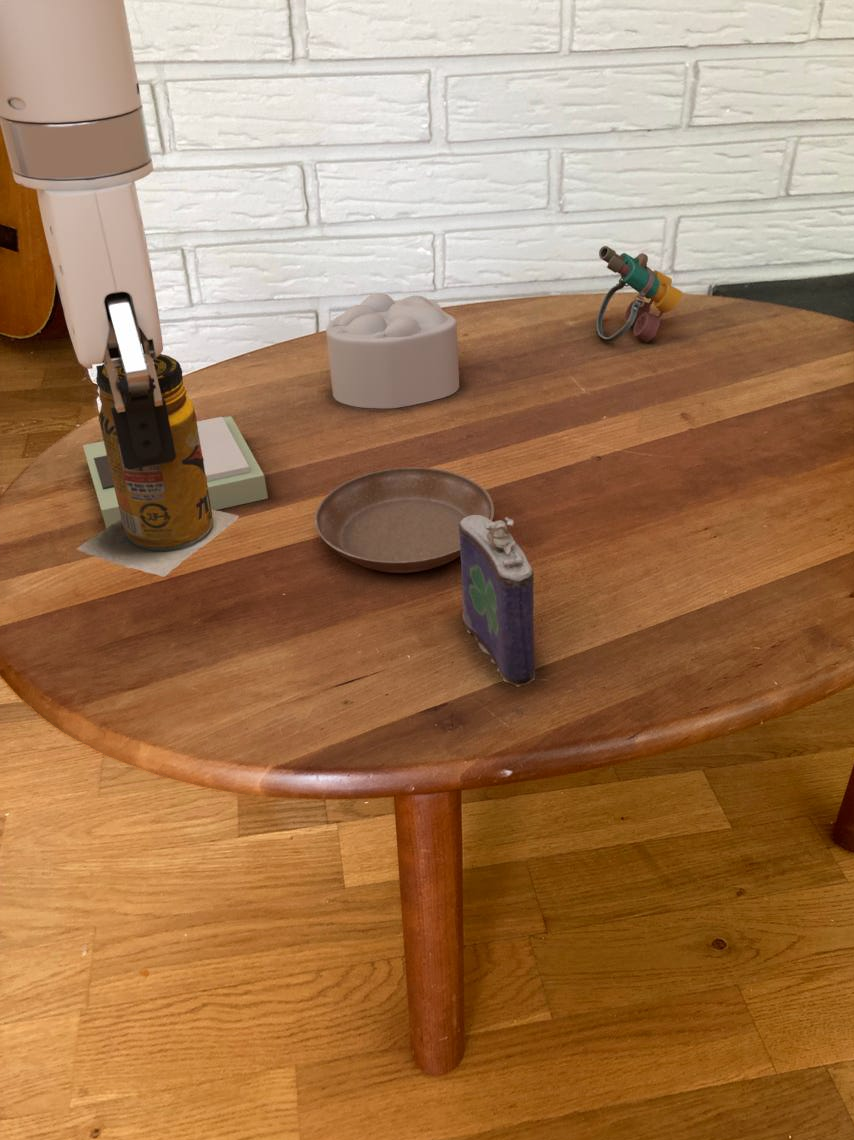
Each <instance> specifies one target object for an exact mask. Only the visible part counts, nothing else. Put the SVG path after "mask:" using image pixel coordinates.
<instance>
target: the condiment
mask: <svg viewBox="0 0 854 1140" xmlns="http://www.w3.org/2000/svg"><path fill="white" fill-rule="evenodd" d="M153 361H154V366H155V370H156V374H157V379H158V383H159V387H160V392H161V396H162V399H164V400H165V402H166V407H167V413H168V418H169V423H170V428H171V433H172V438H173V443H174V449H175V454H176V458H175V459H174V460H173V461H172V462H167V463H162V464H156V465H151V466H146V467H140V468H135V469H127V468H126V467H125V466H124V463H123V460H122V455H121V451H120V446H119V442H118V438H117V433H116V429H115V425H114V420H113V416H112V411H111V408H113V407H115V404H114V400H113V396H112V392H111V388H110V384H109V379H108V375H107V371H106V368H105V366H104V363H102V364H101V365H102V366H101V367H99V369H98V371H97V370H96V377H95V379H96V385H97V387H98V388H99V397H98V398H99V401H100V404H101V405H100V410H99V413H98V422H99V426H100V431H101V436H102V439H103V440H102V441H104V445H105V449H106V453H107V458H108V462H109V467H110V471H111V475H112V480H113V484H114V489H115V493H116V497H117V502H118V506H119V510H120V515H121V520H119V521H117V522H116V523H114V524H111V525H110V526H109V527H108V528H107V529H106V528H105V529H104V530H102V531H100V533H99V534H97V535H96V536H94V537H93V538H91V539H89V540H87V541H85V542H83V544H81V545H80V546H79V547H77V548H76V551H78V552H83V553H85V554H86V555H89V556H92V557H95V558H98V559H102V560H105V561H106V562H109V563H113V564H117V565H121V566H123V567H125V568H126V569H135V570H139V571H141V572H144V573H147V574H152V575H155V576H158V577H159V576H160V577H162V578H165V577H166V576H167V575H169V573H171V572H172V571H173V570H174V569H176V568H178V567H179V566H180V565H181V564H182V563H183V562H184V561H186V560H187V559H188V558H190V557H191V556H192V555H193V554H195V553H196V552H197V551H198V550H200V549H201V548H203V547H205V546H206V545H208V543H210V542H211V541H213V540H214V539H215V538H216V537H217V536H219V535H220V534H221V533H222V532H224V531H225V530H227V528H228V527H230V526H231V525H232V524H233V523H235V522H236V521H237V520H238V519H239V517H240V515H238V514H234V513H229V512H227V511H226V512H224V511H221V510H212V509H211V503H210V497H209V491H208V486H207V478H206V474H205V469H204V459H203V456H202V450H201V445H200V439H199V433H198V426H197V421H198V420H197V414H196V411H195V407H194V404H193V401H192V400H191V399H190V398H189V397H188V395H187V387H186V386H185V383H184V376H183V369H182V365H181V364H180V362H179V361H178V360H176V359H175V358H173V357H171V356H170V355H167V354H163V353H161V354H160V355H159V356H158V357H157V358H154V357H153ZM116 371H117V375H118V379H119V383H120V381H121V380H120V378H124V377H125V376H124V372H123V367H121V368H116Z"/></svg>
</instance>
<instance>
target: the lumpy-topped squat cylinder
mask: <svg viewBox="0 0 854 1140" xmlns="http://www.w3.org/2000/svg"><path fill="white" fill-rule="evenodd" d="M325 335H326V345H327V354H328V363H329V364H328V365H329V372H330V381H331V382H330V383H331V390H332V397H333V398H334V400H335V401H337V402H339V403H341V404H344V405H347V406H350V407H356V408H363V409H398V408H404V407H410V406H416V405H419V404H424V403H425V404H426V403H428V402H429V403H430V402H432V401H435V400H439V399H444V398H446V397H449V396H452V395H453V394H455V393H456V392H458V390H459V389H460V371H459V370H460V369H459V345H458V344H459V343H458V342H459V341H458V323H457V319H456V318H455V317H453V315H451V314H449V313H447V312H445V311H444V310H443V308H442V307H441V306H440V304H439V303H438V302H436V301H435V300H433V299H428V298H427V297H425V296H422V295H411V296H407V297H404V298H402V299H397V300H394V299H393V298H392V297H391V296H390V295H388V294H386V293H379V292H378V293H374V294H371V295H369V296H368V297H366V298H365V299H364V300H363V301H361V303H360V304H356V305H353V306H350V307H349V308H347V309H346V310H345V312H343V313H342V314H341V315H339V316H336V317H335V318H334V319H333V320H331V321H330V323H328V325H327V326H326V328H325Z"/></svg>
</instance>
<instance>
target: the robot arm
mask: <svg viewBox="0 0 854 1140" xmlns="http://www.w3.org/2000/svg"><path fill="white" fill-rule="evenodd" d="M133 51H134V50H133V45H132V39H131V34H130V28H129V23H128V16H127V11H126V5H125V0H0V129H1V133H2V136H3V140H4V144H5V149H6V153H7V157H8V160H9V163H10V168H11V173H12V176H13V180H14V182H15V183H16V184H18V185H20V186H23V187H25V188H28V189H33V190H36V195H37V201H38V206H39V212H40V217H41V222H42V226H43V232H44V235H45V240H46V245H47V248H48V249H47V250H48V253H49V257H50V261H51V266H52V269H53V274H54V277H55V282H56V286H57V291H58V294H59V298H60V302H61V307H62V309H63V315H64V319H65V323H66V327H67V330H68V333H69V337H70V340H71V343H72V347H73V350H74V352H75V356H76V358H77V361H78V363H79V364H80V365H81V366H82V367H84V368H85V369H88V370H91V369H93V365H96V372H97V371H98V369H99V367H101V366H102V365H103V364H104V366H105V368H106V371H107V375H108V379H109V384H110V388H111V392H112V396H113V400H114V404H115V407H113V408H111V411H112V416H113V420H114V425H115V429H116V433H117V438H118V442H119V446H120V451H121V455H122V460H123V463H124V466H125V467H126V468H127V469H135V468H140V467H146V466H151V465H156V464H162V463H167V462H172V461H173V460H174V459H175V458H176V454H175V449H174V443H173V438H172V433H171V428H170V423H169V418H168V413H167V407H166V402H165V400H164V399H162V396H161V392H160V387H159V383H158V379H157V374H156V370H155V366H154V361H153V357H154V358H157V357H158V356H159V355H160V354H162V352H163V351H164V343H163V342H164V341H163V334H162V328H161V327H162V326H161V321H160V313H159V307H158V301H157V295H156V288H155V283H154V277H153V271H152V265H151V260H150V259H151V258H150V253H149V248H148V242H147V237H146V233H145V226H144V222H143V216H142V211H141V207H140V202H139V197H138V192H137V191H138V190H137V187H136V182H137V181H139V180H141V179H143V178H146V177H147V176H149V175H151V173H152V172H153V171H154V165H153V159H152V153H151V148H150V142H149V136H148V135H149V134H148V129H147V123H146V118H145V112H144V107H143V104H142V97H141V92H140V85H139V80H138V75H137V69H136V63H135V57H134V52H133ZM121 367H123V372H124V376H125V377H124V378H120V380H121V381H120V383H119V379H118V375H117V371H116V368H121Z"/></svg>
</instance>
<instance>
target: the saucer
mask: <svg viewBox="0 0 854 1140" xmlns="http://www.w3.org/2000/svg"><path fill="white" fill-rule="evenodd" d="M471 515H481V516H484V517H487V518H488V519H489V520H491V521H493V520H494V516H495V506H494V502H493V499H492V497H491V495H490V494H489V492H488V491H487V490H486V489H485V488H484V487H483V486H481V484H479V483H477V482H476V481H475V480H472V479H471V478H469V477H467V476H464V475H462V474H459V473H456V472H453V471H448V470H445V469H438V468H432V467H420V466H419V467H415V466H412V467H395V468H387V469H383V470H382V469H381V470H377V471H374V472H373V471H372V472H369V473H366V474H363V475H359V476H357V477H355V478H352V479H349V480H348V481H346V482H344V483H342V484H341V485H339V486H337V487H336V488H335V489H333V490H332V491H330V492H329V493H328V494H327V495H326V496H325V497H324V498H323V499H322V500H321V501H320V503H319V505H318V507H317V509H316V511H315V515H314V525H315V528H316V531H317V534H319V536H320V538H321V539H322V540H323V541H324V542H325V543H326V544H327V545H328V547H330V548H331V549H332V550H333V551H335V552H336V554H339V555H340V556H342V557H343V558H345V559H347V560H348V561H350V562H352V563H354V564H356V565H359V566H361V567H364V568H367V569H370V570H374V571H378V572H383V573H392V574H406V573H407V574H408V573H417V572H423V571H428V570H432V569H435V568H438V567H441V566H443V565H445V564H446V565H447V564H448V563H450V562H452V561H454V560H456V559H458V558H459V557H461V554H460V536H459V522H460V521H461V520H462V519H463V518H466V517H467V516H471Z"/></svg>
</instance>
